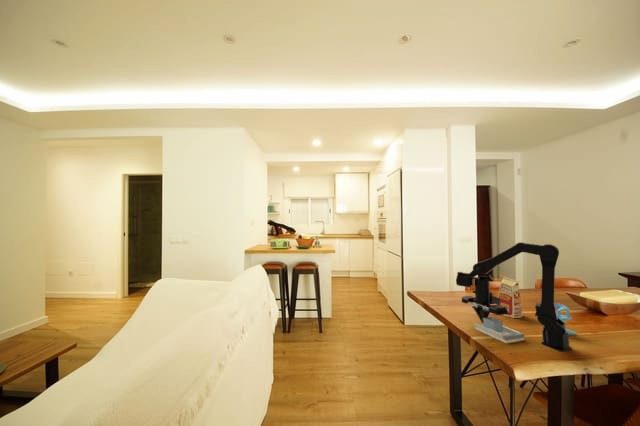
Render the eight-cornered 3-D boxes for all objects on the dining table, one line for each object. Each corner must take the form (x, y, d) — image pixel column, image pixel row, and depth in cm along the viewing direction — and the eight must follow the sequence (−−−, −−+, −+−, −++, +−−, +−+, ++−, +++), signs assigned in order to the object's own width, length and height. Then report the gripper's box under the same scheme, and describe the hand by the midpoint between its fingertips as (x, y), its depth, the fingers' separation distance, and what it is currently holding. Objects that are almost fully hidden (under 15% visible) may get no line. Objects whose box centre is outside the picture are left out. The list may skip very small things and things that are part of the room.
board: (524, 340, 96) (524, 333, 96) (506, 343, 93) (505, 336, 94) (491, 326, 109) (491, 321, 110) (474, 328, 107) (474, 323, 107)
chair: (541, 328, 107) (539, 302, 108) (555, 327, 108) (553, 301, 109) (561, 336, 99) (558, 307, 100) (576, 334, 101) (574, 306, 101)
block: (503, 331, 102) (502, 320, 102) (494, 332, 101) (493, 322, 101) (492, 326, 107) (491, 316, 107) (483, 328, 105) (483, 317, 106)
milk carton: (496, 313, 126) (494, 276, 128) (506, 310, 130) (504, 274, 132) (516, 319, 118) (513, 279, 120) (525, 316, 122) (523, 277, 123)
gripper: (516, 293, 102) (518, 330, 101) (477, 283, 120) (479, 314, 119) (496, 295, 99) (498, 333, 98) (460, 285, 117) (461, 316, 116)
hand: (483, 323), depth 108 cm, fingers closed
